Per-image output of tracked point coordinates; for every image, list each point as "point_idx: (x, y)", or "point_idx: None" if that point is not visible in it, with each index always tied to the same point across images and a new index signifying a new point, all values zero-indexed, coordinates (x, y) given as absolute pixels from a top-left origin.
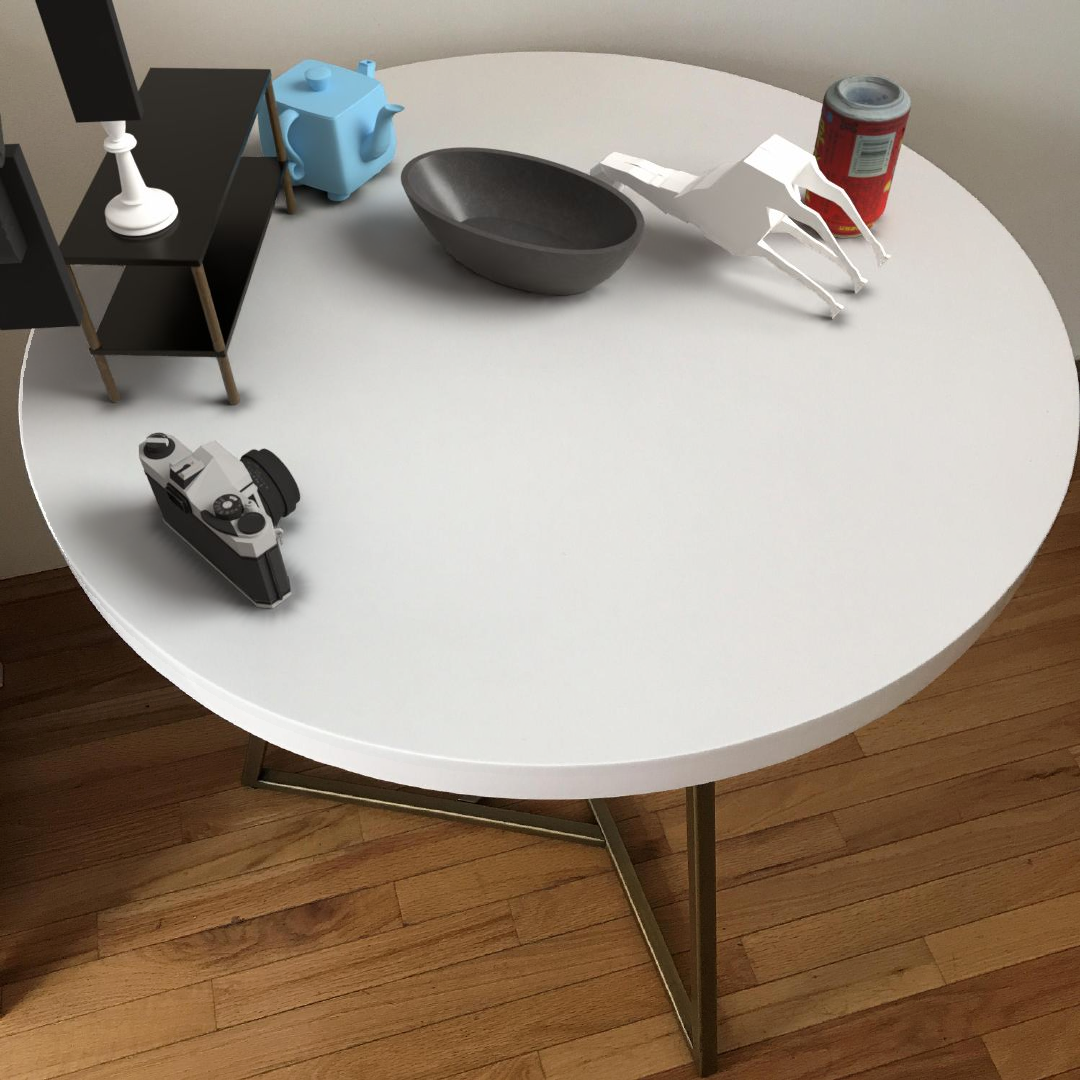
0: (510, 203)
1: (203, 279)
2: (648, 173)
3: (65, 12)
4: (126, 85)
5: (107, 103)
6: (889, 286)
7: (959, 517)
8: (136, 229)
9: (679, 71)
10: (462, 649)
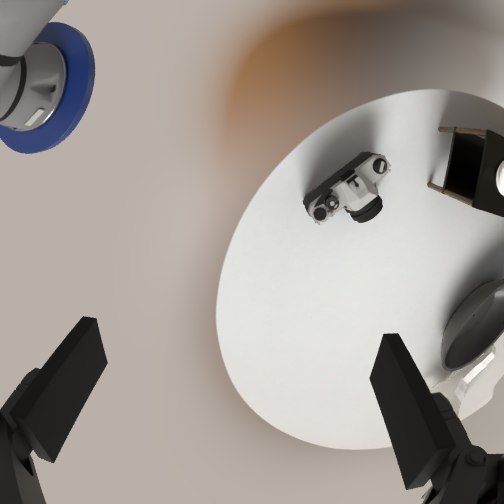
0: (493, 313)
1: (467, 203)
2: (478, 368)
3: (409, 427)
4: (378, 398)
5: (380, 370)
6: None
7: (298, 421)
8: (498, 176)
9: None
10: (269, 278)
